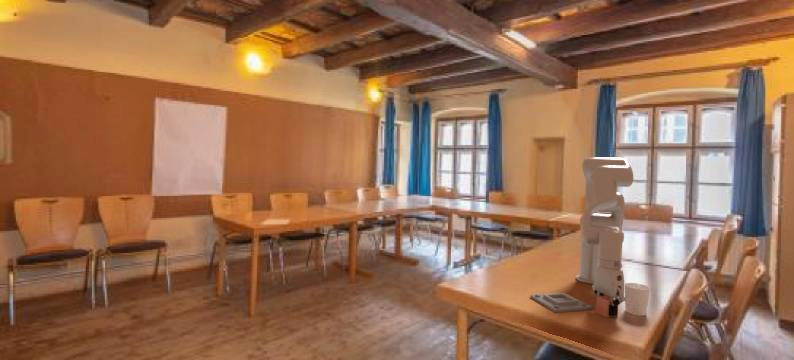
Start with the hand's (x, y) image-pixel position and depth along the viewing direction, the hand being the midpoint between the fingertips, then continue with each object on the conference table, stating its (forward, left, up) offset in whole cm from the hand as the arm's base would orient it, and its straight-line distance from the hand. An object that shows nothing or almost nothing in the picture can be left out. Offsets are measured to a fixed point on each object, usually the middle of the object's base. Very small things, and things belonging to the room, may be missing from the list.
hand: (606, 312), depth 145 cm
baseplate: (+10, -13, -1) cm, 16 cm away
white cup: (-12, +1, -1) cm, 12 cm away
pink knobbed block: (0, 0, -1) cm, 1 cm away
